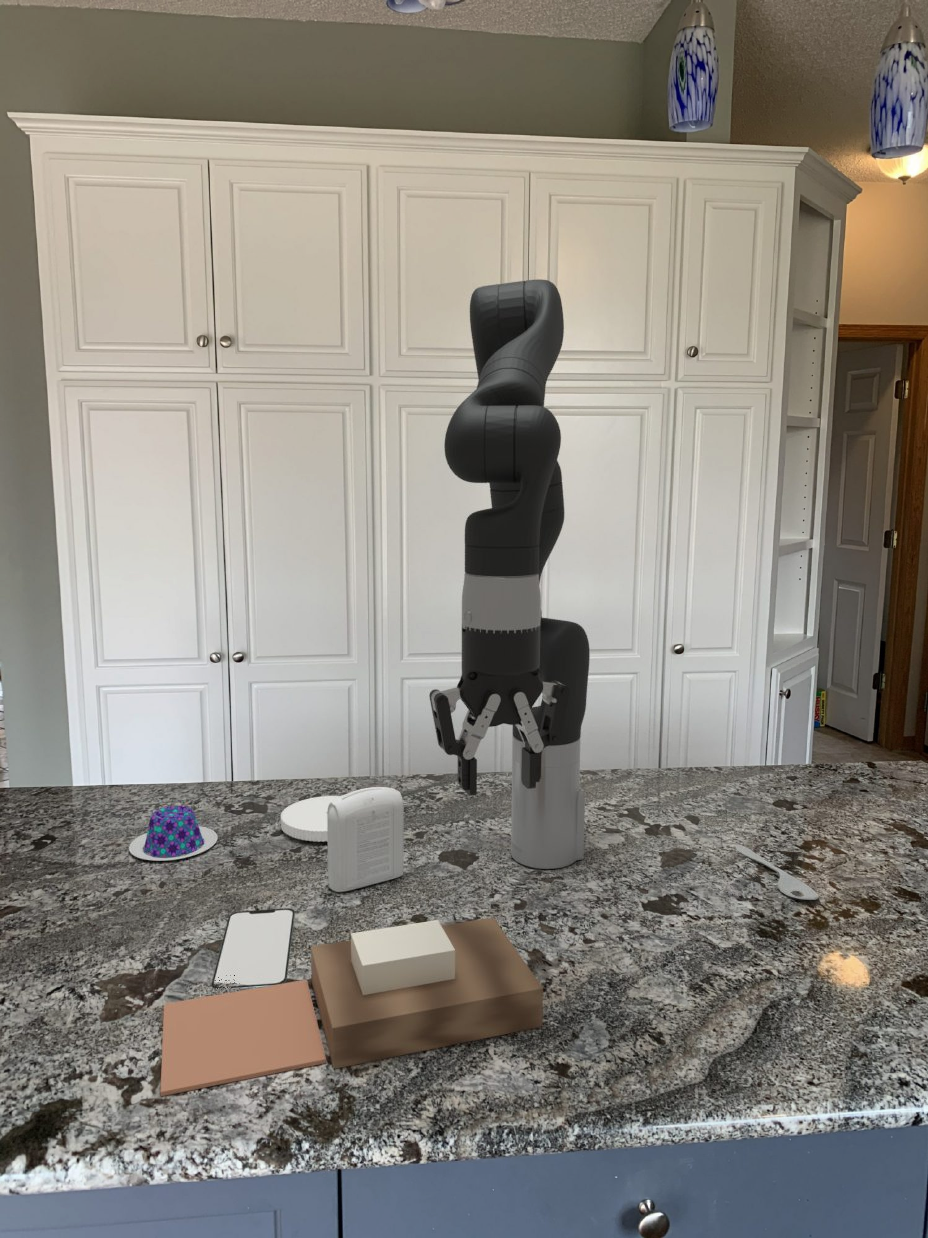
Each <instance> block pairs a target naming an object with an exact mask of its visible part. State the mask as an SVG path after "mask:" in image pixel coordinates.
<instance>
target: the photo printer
mask: <svg viewBox="0 0 928 1238" xmlns="http://www.w3.org/2000/svg"><path fill="white" fill-rule="evenodd" d="M340 796H341V797H339V798H337V799H335V800H334V801H332V802H331V803H330V804H329V806H328V811H327V832H328V841H327V878H328V879H327V880H328V887H329V889H330V890H332V891H333V892H336V893H343V892H348V891H352V890H356V889H361V888H364V887H367V886H368V887H369V886H372V885H375V884H379V883H382V882H383V883H384V882H386V881H390V880H393V879H396V878H397V879H398V878H399V877H402V876H403V875H404V866H405V865H404V860H405V858H404V852H405V851H404V848H405V847H404V846H405V845H404V842H405V841H404V840H405V838H404V837H405V836H404V826H405V825H404V822H405V821H404V820H405V819H404V813H405V812H404V811H405V810H404V808H405V807H404V800H403V797H402V794H401V792H400V791H399V790H396V788H392V787H389V786H387V787H386V786H374V787H366V788H361V789H356V790H354V791H350V792H348V793H345V794H343V795H340Z"/></svg>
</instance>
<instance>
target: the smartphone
mask: <svg viewBox="0 0 928 1238" xmlns="http://www.w3.org/2000/svg"><path fill="white" fill-rule="evenodd" d="M295 914H296V911H295V910H294V909H293V908H289V907H288V908H287V907H286V908H274V909H273V908H271V909H270V908H269V909H257V910H254V909H253V910H243V911H242V910H241V911H234V912H232V913H230V914H229V915H228V918H227V922H226V926H225V928H224V929H225V930H224V933H223V938H222V941H221V945H220V949H219V953H218V957H217V960H216V961H217V962H216V964H215V969H214V971H213V972H214V973H213V976H212V981H211V984H210V985H211V987H212V988H213V989H215V990H219V989H218V988H221V987H223V988H225V987H227V988H228V987H229V986H216V985H215V983H217V984H218V982H219V984H230V982H231V983H234V982H235V983H237V984H236V985H235V986H234V985H233V986H231V985H230V987H231V988H232V989H243V988H244V989H245V988H246V989H247V988H260V987H266V986H272V985H277V984H283V983H286V981H287V979H288V971H289V965H290V956H291V948H292V940H293V933H294V932H293V931H294V924H295V916H296V915H295ZM226 975H227V976H226ZM230 975H231V976H230ZM234 975H235V976H234ZM218 977H219V978H218ZM221 979H222V980H221ZM233 979H234V980H235V981H234V980H233ZM215 980H216V981H215ZM219 980H220V981H219ZM225 980H227V981H225ZM228 980H230V981H228ZM224 982H225V983H224ZM226 982H227V983H226ZM239 983H240V984H239ZM233 987H235V988H233ZM216 988H217V989H216ZM229 989H230V988H229ZM229 989H228V990H229ZM224 990H227V989H226V988H225V989H224ZM230 990H231V989H230Z"/></svg>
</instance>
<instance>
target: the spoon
mask: <svg viewBox="0 0 928 1238" xmlns="http://www.w3.org/2000/svg"><path fill="white" fill-rule="evenodd" d="M734 848H735V849H736V850H737V852H739V853H740V854H741V855H743V856H744V857H746V858H748V859H751V860H753V861H755V862H757V863H759V864H762V865H765V866H766V867H768V868H769V869H771V870H773V871H774V872H776V873H777V874H778V875H779V879H778V881H777V888H778V890H779V891H780V892H781V893H783V894H784V895H786V896H788V897H791V898H794V899H798V900H803V901H804V900H809V901H811V900H818V899H819V898H820V895H819V893H818V892H817V891H815V890H814V889H813V888H811V887H810V885H808V884H806V883H805V882H803V881H801V880H800V879H798V878H796V877H795V876H792V875H791V874H790V873H788V872H786V871H784V870H783V869H781V868H779V867H777V866H776V865H774V864H772V863H770V862H769V861H767V860H766V859H765V858H763V857H762V856H760V855H759V854H757V853H755V851H753V850H752V849H750V848H748V847H746V846H744V845H742V844H736V845H735V847H734ZM791 892H801V894H803V896H797V895H795V894H793V893H791Z"/></svg>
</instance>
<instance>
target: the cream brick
mask: <svg viewBox="0 0 928 1238" xmlns="http://www.w3.org/2000/svg"><path fill="white" fill-rule="evenodd" d="M442 926H443V925H442V924H441V923H440V921H439V919H435V920H429V921H422V922H417V923H411V924H409V923H408V924H403V925H397V926H396V925H395V926H391V927H383V928H376V929H371V930H364V931H358V932H352V933H350V940H351V962H352V965H353V967H354V970H355V973H356V976H357V979H358V982H359V985H360V988H361V991H362V994H363V995H367V994H373V993H379V992H384V991H390V990H395V989H401V988H406V987H412V986H418V985H423V984H429V983H434V982H440V981H445V980H451V979H455V949H454V947H453V945H452V944H451V942H450V940H449V938H448V937H447V935H446V933H445V931H444V930H443V928H442Z"/></svg>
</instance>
